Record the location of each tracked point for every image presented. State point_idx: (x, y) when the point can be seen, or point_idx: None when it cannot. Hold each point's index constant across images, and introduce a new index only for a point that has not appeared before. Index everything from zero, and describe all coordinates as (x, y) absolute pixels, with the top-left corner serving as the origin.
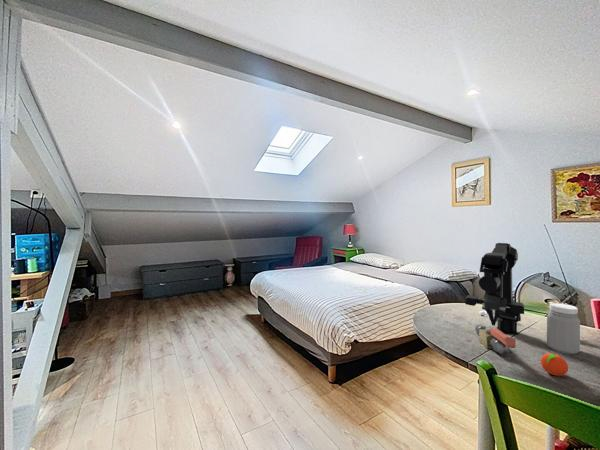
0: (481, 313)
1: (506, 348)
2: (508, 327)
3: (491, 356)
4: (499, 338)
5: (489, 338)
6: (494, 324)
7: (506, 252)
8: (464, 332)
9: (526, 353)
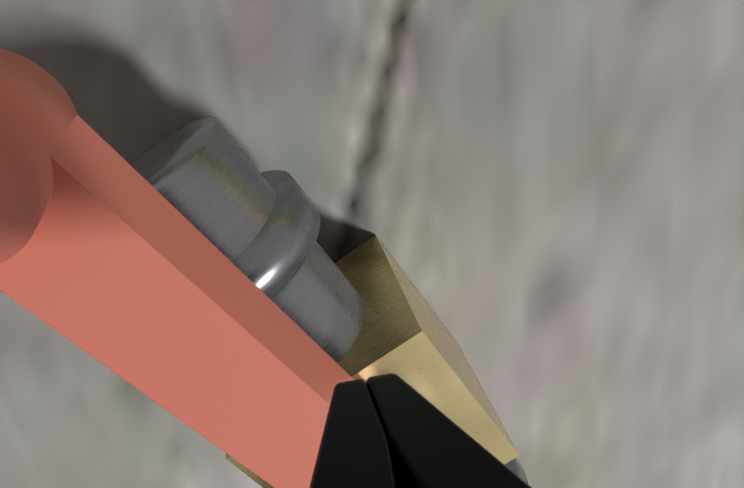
0: None
1: None
2: None
3: (288, 43)
4: (229, 279)
5: (376, 326)
6: (345, 402)
7: None
8: (591, 438)
9: (22, 415)
